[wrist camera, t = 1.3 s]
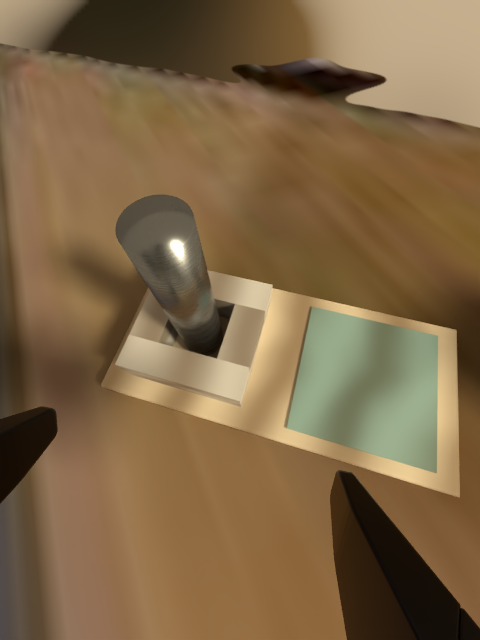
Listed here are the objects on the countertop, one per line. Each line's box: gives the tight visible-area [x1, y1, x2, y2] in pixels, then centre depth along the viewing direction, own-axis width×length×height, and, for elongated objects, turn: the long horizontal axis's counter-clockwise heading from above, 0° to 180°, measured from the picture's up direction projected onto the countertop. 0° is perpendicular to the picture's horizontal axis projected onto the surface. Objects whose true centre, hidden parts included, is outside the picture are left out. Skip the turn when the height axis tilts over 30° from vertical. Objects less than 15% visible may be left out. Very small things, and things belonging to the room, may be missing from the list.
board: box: [101, 270, 460, 497], centre depth 21 cm, size 26×12×4 cm, turn 74°
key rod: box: [116, 195, 223, 356], centre depth 17 cm, size 3×3×13 cm
